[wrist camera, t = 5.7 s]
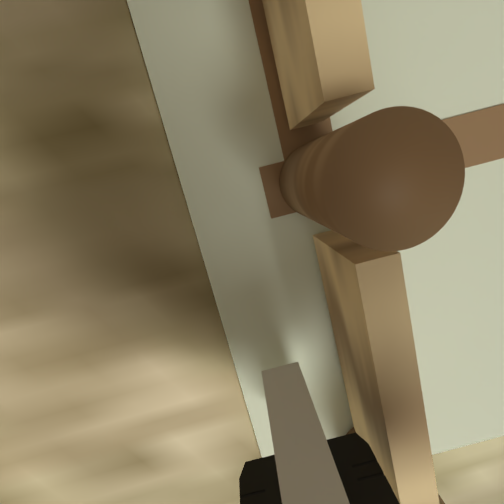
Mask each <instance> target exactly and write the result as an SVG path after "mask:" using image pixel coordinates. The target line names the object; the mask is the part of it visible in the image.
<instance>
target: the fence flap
mask: <svg viewBox="0 0 504 504" xmlns="http://www.w3.org/2000/svg"><path fill="white" fill-rule="evenodd" d="M313 240H314V244H315V249H316V254H317V258H318V263H319V267H320V272H321V277H322V281H323V286H324V291H325V295H326V300H327V305H328V309H329V314H330V319H331V323H332V328H333V333H334V337H335V342H336V346H337V351H338V356H339V360H340V365H341V370H342V374H343V379H344V384H345V388H346V393H347V398H348V402H349V407H350V412H351V416H352V421H353V426H354V427H353V428H351V429H350V430H349V431H348V432H347V434H351V433H355V432H356V433H357V434H358V435H359V436H360V437H361V438H363V439H364V440H365V441H366V442H367V443H368V444H369V445H370V447H371V449H372V451H373V453H374V455H375V457H376V459H377V462H378V463H379V465H380V467H381V469H382V470H383V473H384V475H385V476H386V478H387V480H388V482H389V484H390V486H391V488H392V490H393V492H394V494H395V496H396V498H397V499H398V501H399V503H400V504H445V503H444V502H443V500H442V499H441V497H440V495H439V494H438V491H437V484H436V478H435V472H434V465H433V459H432V452H431V446H430V440H429V433H428V427H427V420H426V414H425V407H424V401H423V395H422V388H421V382H420V375H419V369H418V363H417V356H416V350H415V343H414V337H413V331H412V324H411V318H410V311H409V305H408V299H407V292H406V286H405V279H404V273H403V266H402V260H401V254H400V252H398V251H391V252H387V251H378V250H373V249H370V248H367V247H364V246H362V245H360V244H358V243H356V242H354V241H352V240H350V239H348V238H346V237H344V236H342V235H340V234H338V233H336V232H334V231H333V230H330V231H326V232H323V233H319V234H315V235H313ZM347 434H346V435H347Z"/></svg>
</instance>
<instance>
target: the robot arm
mask: <svg viewBox="0 0 504 504" xmlns="http://www.w3.org/2000/svg"><path fill="white" fill-rule="evenodd" d="M262 378H263V384H264V391H265V397H266V404H267V410H268V416H269V423H270V429H271V436H272V442H273V448H274V455H271V456H267V457H263V458H259V459H255V460H252V461H248V462H245V465H244V467H243V470H242V473H241V476H240V478H239V482H240V504H400V503H399V501H398V499H397V498H396V496H395V494H394V492H393V490H392V488H391V486H390V484H389V482H388V480H387V478H386V476H385V475H384V473H383V470H382V469H381V467H380V465H379V463H378V462H377V459H376V457H375V455H374V453H373V451H372V449H371V447H370V445H369V444H368V443H367V442H366V441H365V440H364V439H363V438H361V437H360V436H359V435H358V434H357V433H356V432H355V433H351V434H347V435H344V436H340V437H336V438H332V439H328V440H326V437H325V434H324V432H323V429H322V426H321V423H320V421H319V418H318V415H317V412H316V410H315V407H314V404H313V401H312V399H311V396H310V393H309V390H308V388H307V385H306V382H305V379H304V377H303V374H302V371H301V368H300V366H299V363H298V362H294V363H291V364H287V365H283V366H279V367H275V368H271V369H267V370H263V371H262Z"/></svg>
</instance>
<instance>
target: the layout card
mask: <svg viewBox="0 0 504 504" xmlns="http://www.w3.org/2000/svg"><path fill="white" fill-rule="evenodd" d="M127 3H128V7H129V10H130V13H131V17H132V20H133V23H134V27H135V30H136V34H137V37H138V40H139V44H140V47H141V50H142V54H143V57H144V61H145V64H146V67H147V71H148V74H149V77H150V81H151V84H152V88H153V91H154V94H155V98H156V101H157V105H158V108H159V111H160V115H161V118H162V121H163V125H164V128H165V132H166V135H167V138H168V142H169V145H170V148H171V152H172V155H173V159H174V162H175V165H176V169H177V172H178V175H179V179H180V182H181V186H182V189H183V192H184V196H185V199H186V203H187V206H188V209H189V213H190V216H191V219H192V223H193V226H194V230H195V233H196V236H197V240H198V243H199V246H200V250H201V253H202V257H203V260H204V263H205V267H206V270H207V273H208V277H209V280H210V284H211V287H212V290H213V294H214V297H215V301H216V304H217V307H218V311H219V314H220V317H221V321H222V324H223V328H224V331H225V334H226V338H227V341H228V344H229V348H230V351H231V355H232V358H233V361H234V365H235V368H236V371H237V375H238V378H239V382H240V385H241V388H242V392H243V395H244V399H245V402H246V405H247V409H248V412H249V415H250V419H251V422H252V426H253V429H254V432H255V436H256V439H257V442H258V446H259V449H260V453H261V456H262V458H263V457H267V456H271V455H274V448H273V442H272V436H271V429H270V423H269V416H268V410H267V404H266V397H265V391H264V384H263V378H262V371H263V370H267V369H271V368H275V367H279V366H283V365H287V364H291V363H294V362H298V363H299V366H300V368H301V371H302V374H303V377H304V379H305V382H306V385H307V388H308V390H309V393H310V396H311V399H312V401H313V404H314V407H315V410H316V412H317V415H318V418H319V421H320V423H321V426H322V429H323V432H324V434H325V437H326V440H328V439H332V438H336V437H340V436H344V435H346V434H347V432H348V431H349V430H350V429H351V428H353V427H354V426H353V421H352V416H351V412H350V407H349V402H348V398H347V393H346V388H345V384H344V379H343V374H342V370H341V365H340V360H339V356H338V351H337V346H336V342H335V337H334V333H333V328H332V323H331V319H330V314H329V309H328V305H327V300H326V295H325V291H324V286H323V281H322V277H321V272H320V267H319V263H318V258H317V254H316V249H315V244H314V240H313V235H315V234H319V233H323V232H326V231H330V230H331V229H329V228H327V227H325V226H323V225H321V224H319V223H317V222H315V221H313V220H311V219H309V218H307V217H305V216H303V215H301V214H299V213H297V212H296V211H294V210H293V209H292V208H290V207H289V206H288V204H287V203H286V202H285V200H284V198H283V196H282V194H281V190H280V185H279V178H280V172H281V168H282V166H283V164H284V162H285V160H286V159H287V157H288V156H289V155H290V154H291V153H292V152H293V151H294V150H295V149H297V148H298V147H300V146H302V145H304V144H306V143H309V142H311V141H313V140H315V139H317V138H319V137H321V136H324V135H326V134H328V133H330V132H332V131H334V130H336V129H339V128H341V127H343V126H345V125H347V124H349V123H352V122H354V121H356V120H358V119H360V118H362V117H364V116H367V115H369V114H371V113H373V112H375V111H378V110H381V109H384V108H388V107H394V106H409V107H416V108H420V109H423V110H425V111H428V112H430V113H432V114H434V115H435V116H437V117H438V118H440V119H441V120H442V121H443V122H444V123H446V125H447V126H448V127H449V128H450V129H451V130H452V132H453V133H454V135H455V136H456V138H457V140H458V142H459V144H460V147H461V150H462V153H463V157H464V163H465V181H464V187H463V192H462V195H461V198H460V201H459V203H458V205H457V207H456V210H455V211H454V213H453V215H452V216H451V218H450V219H449V220H448V222H447V223H446V224H445V225H444V226H443V227H442V228H441V229H440V231H439V232H437V233H436V234H435V235H434V236H432V237H431V238H430V239H428V240H427V241H425V242H423V243H421V244H419V245H417V246H415V247H412V248H409V249H406V250H400V251H398V252H400V254H401V260H402V266H403V273H404V279H405V286H406V292H407V299H408V305H409V311H410V318H411V324H412V331H413V337H414V343H415V350H416V356H417V363H418V369H419V375H420V382H421V388H422V395H423V401H424V407H425V414H426V420H427V427H428V433H429V440H430V446H431V452H432V455H434V454H437V453H441V452H445V451H449V450H452V449H456V448H460V447H464V446H467V445H471V444H475V443H479V442H482V441H486V440H490V439H494V438H497V437H501V436H504V0H361V4H362V10H363V16H364V23H365V29H366V36H367V42H368V49H369V55H370V61H371V68H372V74H373V81H374V87H375V89H374V90H372V91H371V92H369V93H367V94H366V95H364V96H363V97H361V98H359V99H358V100H356V101H355V102H353V103H351V104H350V105H348V106H347V107H345V108H343V109H342V110H340V111H338V112H337V113H335V114H334V115H332V116H330V117H329V118H327V119H326V120H324V121H322V122H320V123H316V124H312V125H308V126H304V127H300V128H296V129H293V130H290V128H289V123H288V119H287V114H286V109H285V105H284V100H283V95H282V91H281V86H280V81H279V77H278V72H277V68H276V63H275V58H274V54H273V49H272V44H271V40H270V35H269V30H268V26H267V21H266V16H265V12H264V7H263V2H262V0H127Z"/></svg>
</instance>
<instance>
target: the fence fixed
mask: <svg viewBox="0 0 504 504" xmlns="http://www.w3.org/2000/svg"><path fill="white" fill-rule="evenodd" d="M262 2H263V7H264V12H265V16H266V21H267V26H268V30H269V35H270V40H271V44H272V49H273V54H274V58H275V63H276V68H277V72H278V77H279V81H280V86H281V91H282V95H283V100H284V105H285V109H286V114H287V119H288V123H289V128H290V130H293V129H296V128H300V127H304V126H308V125H312V124H316V123H320V122H322V121H324V120H326V119H327V118H329V117H330V116H332V115H334V114H335V113H337V112H338V111H340V110H342V109H343V108H345V107H347V106H348V105H350V104H351V103H353V102H355V101H356V100H358V99H359V98H361V97H363V96H364V95H366V94H367V93H369V92H371V91H372V90H374V89H375V87H374V81H373V74H372V68H371V61H370V55H369V49H368V42H367V36H366V29H365V23H364V16H363V10H362V4H361V0H262ZM464 181H465V163H464V157H463V153H462V150H461V147H460V144H459V142H458V140H457V138H456V136H455V135H454V133H453V132H452V130H451V129H450V128H449V127H448V126H447V125H446V123H444V122H443V121H442V120H441V119H440V118H438V117H437V116H435V115H434V114H432V113H430V112H428V111H425V110H423V109H420V108H416V107H409V106H394V107H388V108H384V109H381V110H378V111H375V112H373V113H371V114H369V115H367V116H364V117H362V118H360V119H358V120H356V121H354V122H352V123H349V124H347V125H345V126H343V127H341V128H339V129H336V130H334V131H332V132H330V133H328V134H326V135H324V136H321V137H319V138H317V139H315V140H313V141H311V142H309V143H306V144H304V145H302V146H300V147H298V148H297V149H295V150H294V151H293V152H292V153H291V154H290V155H289V156H288V157H287V159H286V160H285V162H284V164H283V166H282V168H281V172H280V178H279V185H280V190H281V194H282V196H283V198H284V200H285V202H286V203H287V204H288V206H289V207H290V208H292V209H293V210H294V211H296V212H297V213H299V214H301V215H303V216H305V217H307V218H309V219H311V220H313V221H315V222H317V223H319V224H321V225H323V226H325V227H327V228H329V229H331V230H333V231H334V232H336V233H338V234H340V235H342V236H344V237H346V238H348V239H350V240H352V241H354V242H356V243H358V244H360V245H362V246H364V247H367V248H370V249H373V250H378V251H387V252H391V251H400V250H406V249H409V248H412V247H415V246H417V245H419V244H421V243H423V242H425V241H427V240H428V239H430V238H431V237H432V236H434V235H435V234H436V233H437V232H439V231H440V229H441V228H442V227H443V226H444V225H445V224H446V223H447V222H448V220H449V219H450V218H451V216H452V215H453V213H454V211H455V210H456V207H457V205H458V203H459V201H460V198H461V195H462V192H463V187H464Z"/></svg>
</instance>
